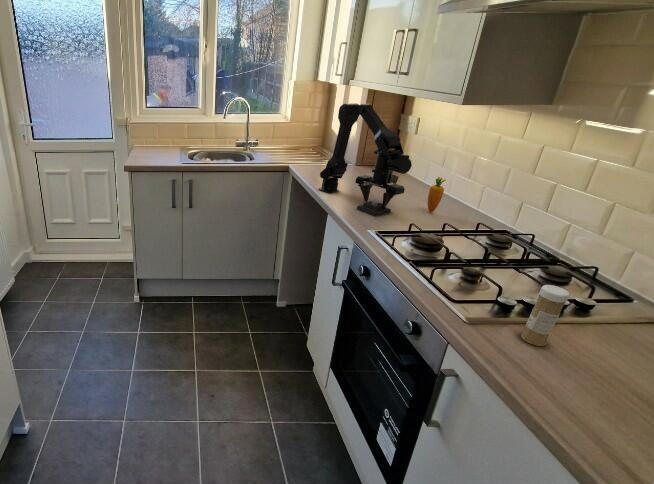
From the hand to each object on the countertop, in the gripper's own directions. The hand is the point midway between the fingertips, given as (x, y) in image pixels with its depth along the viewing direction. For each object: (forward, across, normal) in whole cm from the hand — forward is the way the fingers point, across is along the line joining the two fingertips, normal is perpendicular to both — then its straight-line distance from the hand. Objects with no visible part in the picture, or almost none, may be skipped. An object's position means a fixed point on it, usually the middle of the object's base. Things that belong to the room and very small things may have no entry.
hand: (374, 204), depth 168 cm
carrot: (+3, -12, -19) cm, 23 cm away
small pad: (+1, 0, 0) cm, 1 cm away
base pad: (+3, 0, 0) cm, 3 cm away
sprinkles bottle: (+3, -74, +39) cm, 84 cm away
